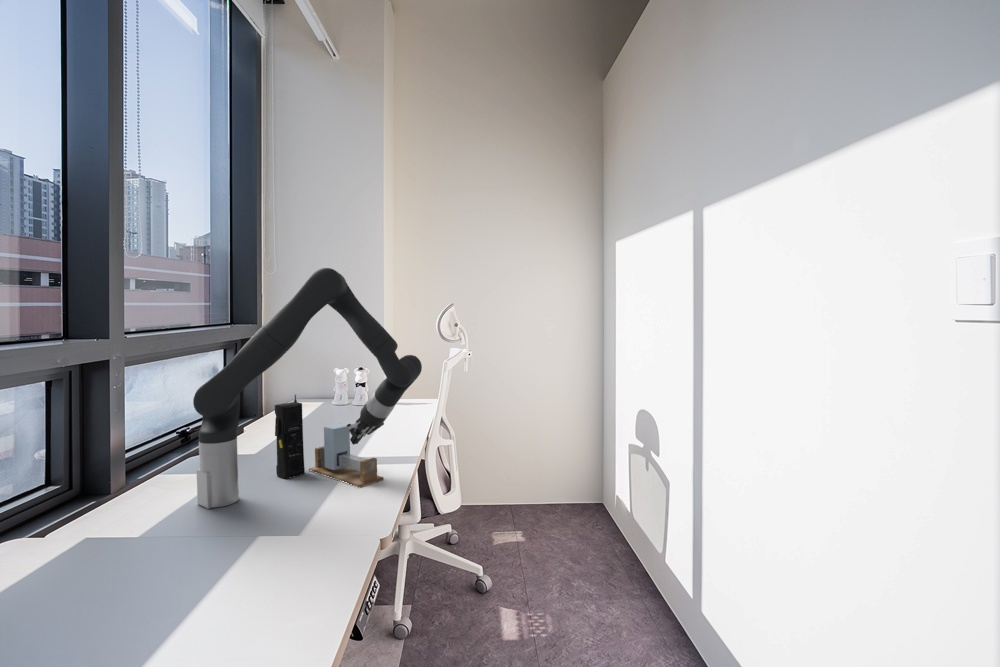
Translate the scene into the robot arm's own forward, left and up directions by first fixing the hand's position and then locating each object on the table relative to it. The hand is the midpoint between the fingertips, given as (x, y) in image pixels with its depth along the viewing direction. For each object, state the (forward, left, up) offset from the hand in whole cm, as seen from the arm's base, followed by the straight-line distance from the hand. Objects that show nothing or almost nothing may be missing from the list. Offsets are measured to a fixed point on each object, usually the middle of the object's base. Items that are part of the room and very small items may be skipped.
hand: (353, 441), depth 167 cm
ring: (0, +12, -9) cm, 15 cm away
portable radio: (-11, +18, -12) cm, 24 cm away
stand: (0, +4, -11) cm, 12 cm away
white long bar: (0, +4, -8) cm, 9 cm away
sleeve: (0, +8, -9) cm, 13 cm away
